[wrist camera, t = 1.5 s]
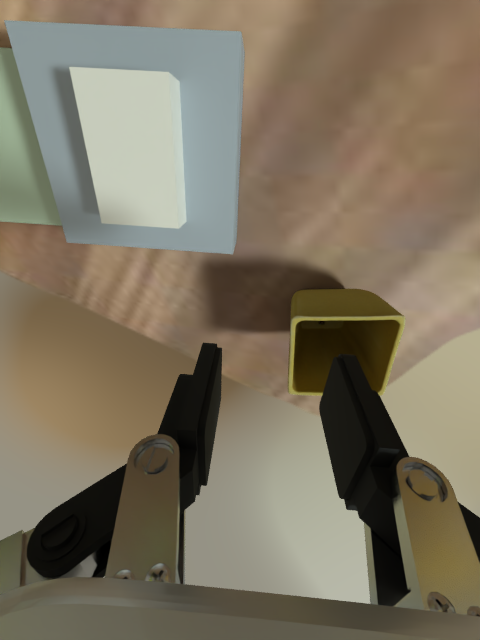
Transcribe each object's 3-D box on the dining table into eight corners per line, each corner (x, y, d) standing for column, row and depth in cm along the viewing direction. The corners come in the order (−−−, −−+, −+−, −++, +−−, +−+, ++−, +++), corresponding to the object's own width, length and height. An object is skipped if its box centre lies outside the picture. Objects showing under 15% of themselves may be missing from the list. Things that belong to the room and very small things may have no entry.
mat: (-90, 44, 21) (-95, 42, 21) (48, 51, 21) (45, 49, 20) (-16, 219, 28) (-19, 220, 28) (89, 226, 28) (87, 227, 27)
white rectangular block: (91, 76, 18) (69, 66, 16) (179, 81, 18) (168, 71, 16) (116, 216, 23) (101, 223, 21) (186, 221, 23) (178, 228, 21)
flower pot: (281, 340, 34) (287, 396, 26) (283, 274, 29) (291, 317, 21) (355, 340, 33) (383, 397, 25) (368, 271, 28) (408, 315, 21)
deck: (46, 42, 21) (4, 20, 17) (244, 52, 20) (241, 31, 17) (90, 231, 28) (66, 242, 24) (236, 241, 27) (232, 254, 24)
